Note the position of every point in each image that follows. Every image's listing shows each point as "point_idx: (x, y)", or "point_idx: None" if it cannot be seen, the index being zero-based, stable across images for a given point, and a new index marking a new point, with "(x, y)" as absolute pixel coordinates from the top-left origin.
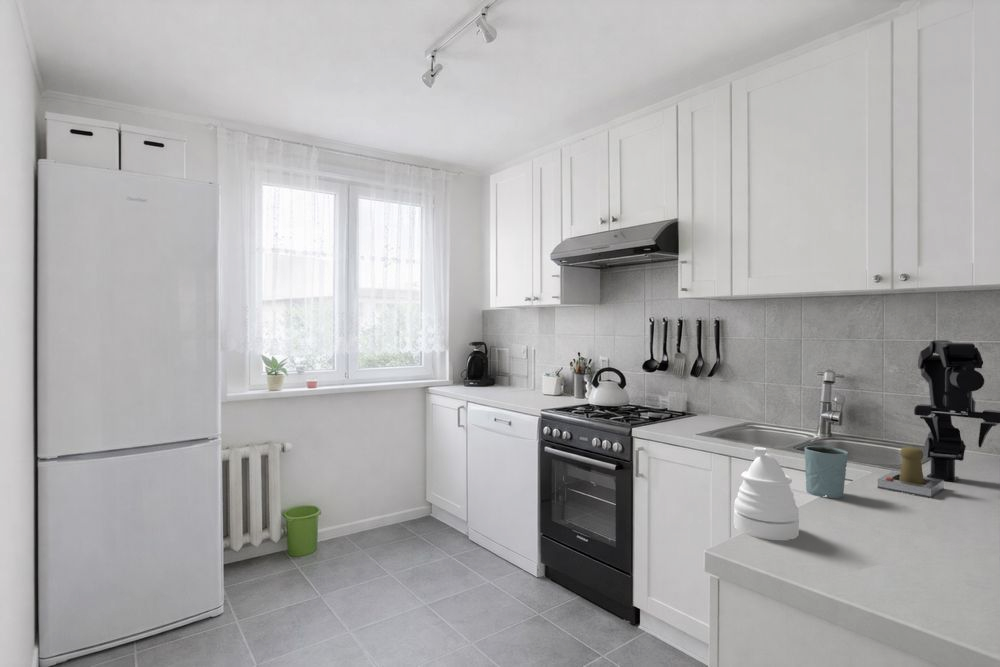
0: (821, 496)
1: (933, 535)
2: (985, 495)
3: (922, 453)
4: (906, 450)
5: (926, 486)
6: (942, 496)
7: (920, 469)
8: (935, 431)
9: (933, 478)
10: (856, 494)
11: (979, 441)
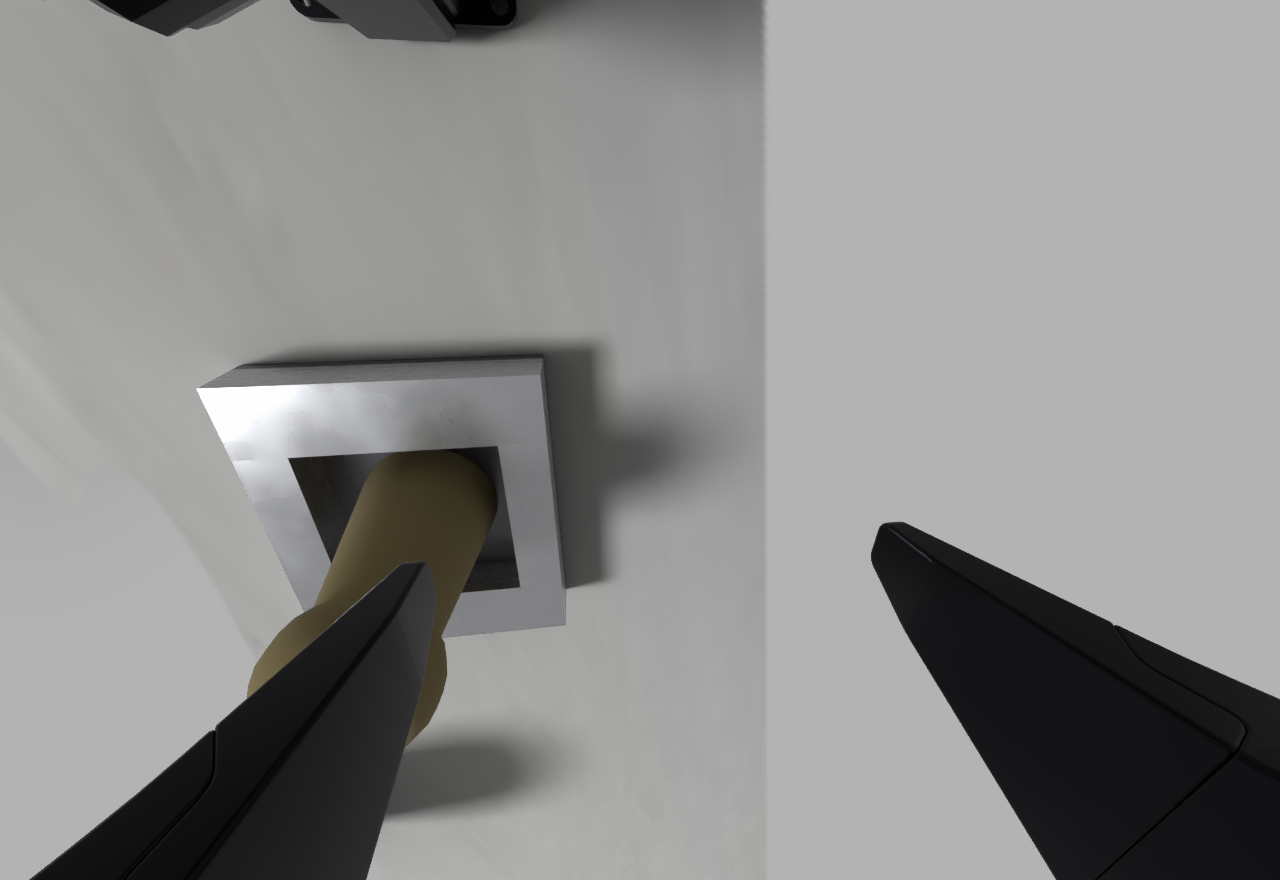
0: None
1: (670, 838)
2: (739, 319)
3: (436, 691)
4: None
5: (536, 603)
6: (588, 522)
7: (459, 594)
8: (382, 817)
9: (481, 388)
10: None
11: (922, 644)
